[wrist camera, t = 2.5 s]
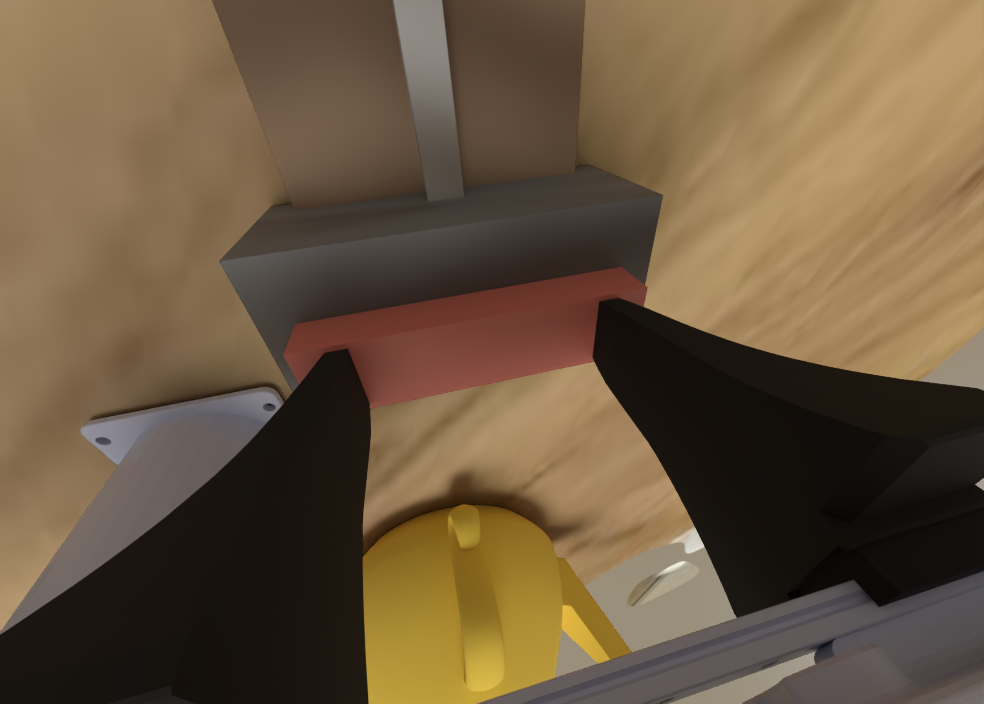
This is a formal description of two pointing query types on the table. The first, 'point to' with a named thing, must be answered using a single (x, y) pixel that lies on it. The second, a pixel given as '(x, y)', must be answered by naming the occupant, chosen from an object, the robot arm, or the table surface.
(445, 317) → the bar
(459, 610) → the teapot
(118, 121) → the table surface
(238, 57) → the rail stand
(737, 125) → the table surface
